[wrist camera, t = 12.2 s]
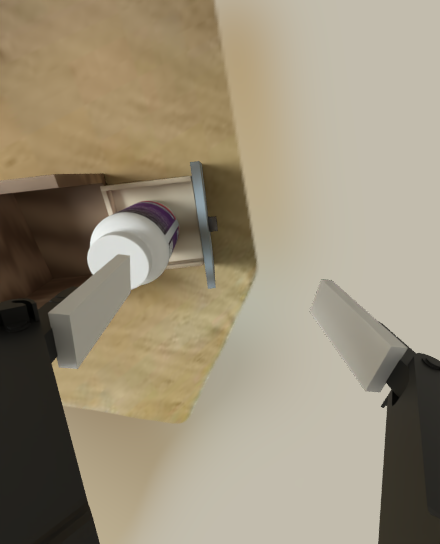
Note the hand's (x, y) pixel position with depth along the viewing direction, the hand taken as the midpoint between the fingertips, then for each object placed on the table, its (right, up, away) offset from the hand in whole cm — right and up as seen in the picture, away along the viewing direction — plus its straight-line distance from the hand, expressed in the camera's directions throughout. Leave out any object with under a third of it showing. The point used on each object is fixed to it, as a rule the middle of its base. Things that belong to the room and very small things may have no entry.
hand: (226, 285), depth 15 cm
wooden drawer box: (-23, +7, +20) cm, 31 cm away
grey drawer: (-8, +9, +19) cm, 23 cm away
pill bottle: (-10, +8, +18) cm, 22 cm away
